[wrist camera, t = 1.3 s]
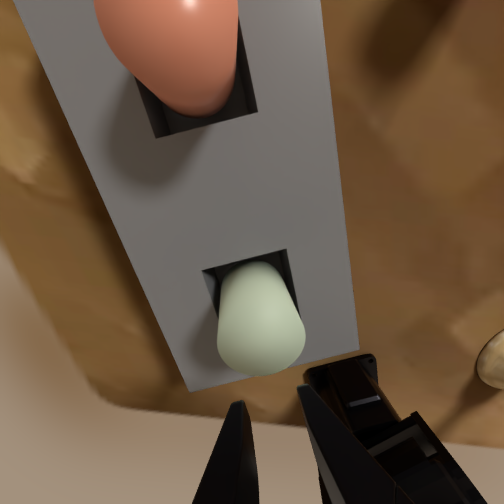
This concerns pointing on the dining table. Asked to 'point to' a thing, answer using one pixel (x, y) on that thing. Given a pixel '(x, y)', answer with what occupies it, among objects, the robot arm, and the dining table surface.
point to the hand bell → (492, 362)
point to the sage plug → (258, 321)
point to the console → (214, 175)
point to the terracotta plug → (176, 49)
